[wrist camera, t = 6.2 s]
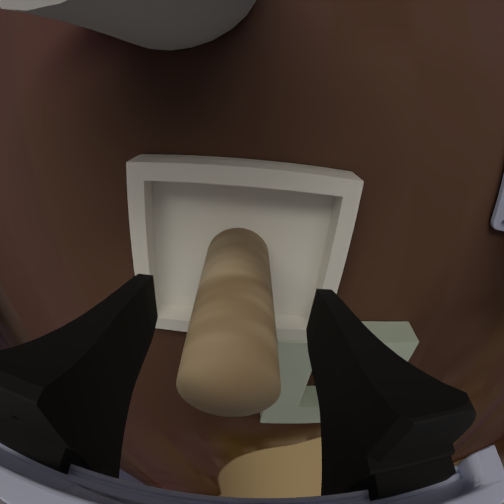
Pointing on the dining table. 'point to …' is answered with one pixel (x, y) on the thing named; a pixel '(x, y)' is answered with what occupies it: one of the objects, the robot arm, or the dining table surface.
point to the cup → (144, 18)
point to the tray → (240, 216)
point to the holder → (299, 369)
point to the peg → (232, 331)
